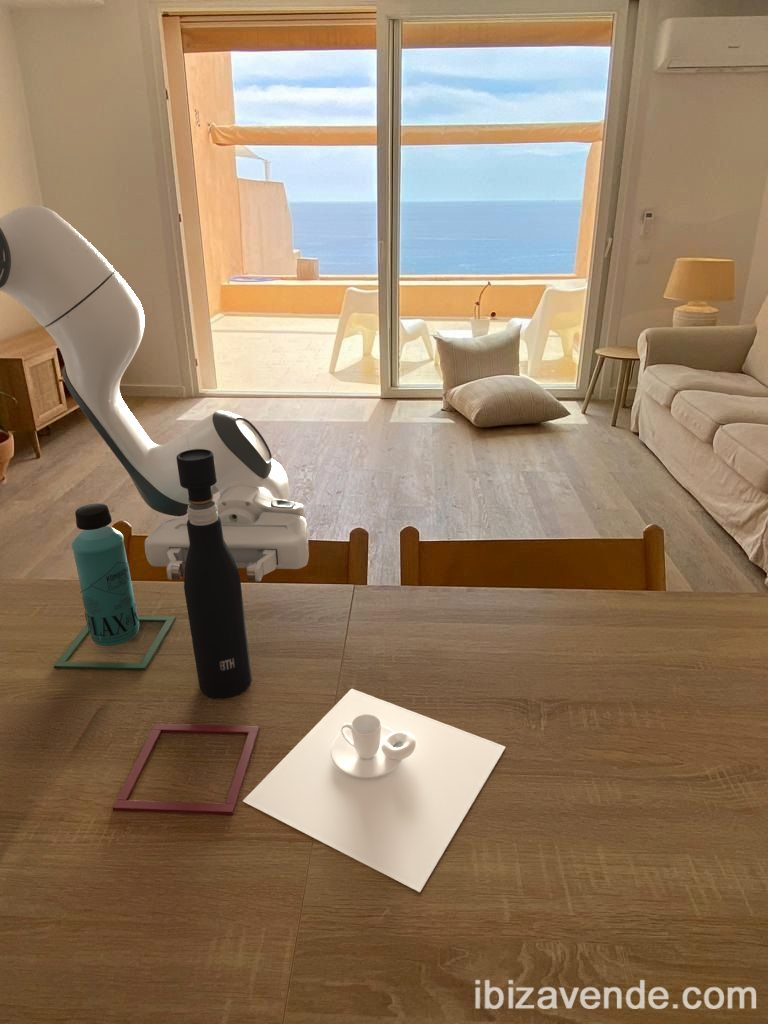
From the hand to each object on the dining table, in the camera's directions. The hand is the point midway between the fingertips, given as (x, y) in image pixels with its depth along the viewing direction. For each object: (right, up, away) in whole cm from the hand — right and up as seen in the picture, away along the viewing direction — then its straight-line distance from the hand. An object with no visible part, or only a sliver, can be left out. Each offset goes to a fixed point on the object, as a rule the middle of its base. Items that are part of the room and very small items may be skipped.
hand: (212, 575), depth 81 cm
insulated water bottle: (0, -14, +6) cm, 15 cm away
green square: (-16, -10, +14) cm, 24 cm away
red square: (-1, -20, -7) cm, 21 cm away
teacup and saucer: (+19, -20, -8) cm, 29 cm away
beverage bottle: (-16, -11, +14) cm, 24 cm away
